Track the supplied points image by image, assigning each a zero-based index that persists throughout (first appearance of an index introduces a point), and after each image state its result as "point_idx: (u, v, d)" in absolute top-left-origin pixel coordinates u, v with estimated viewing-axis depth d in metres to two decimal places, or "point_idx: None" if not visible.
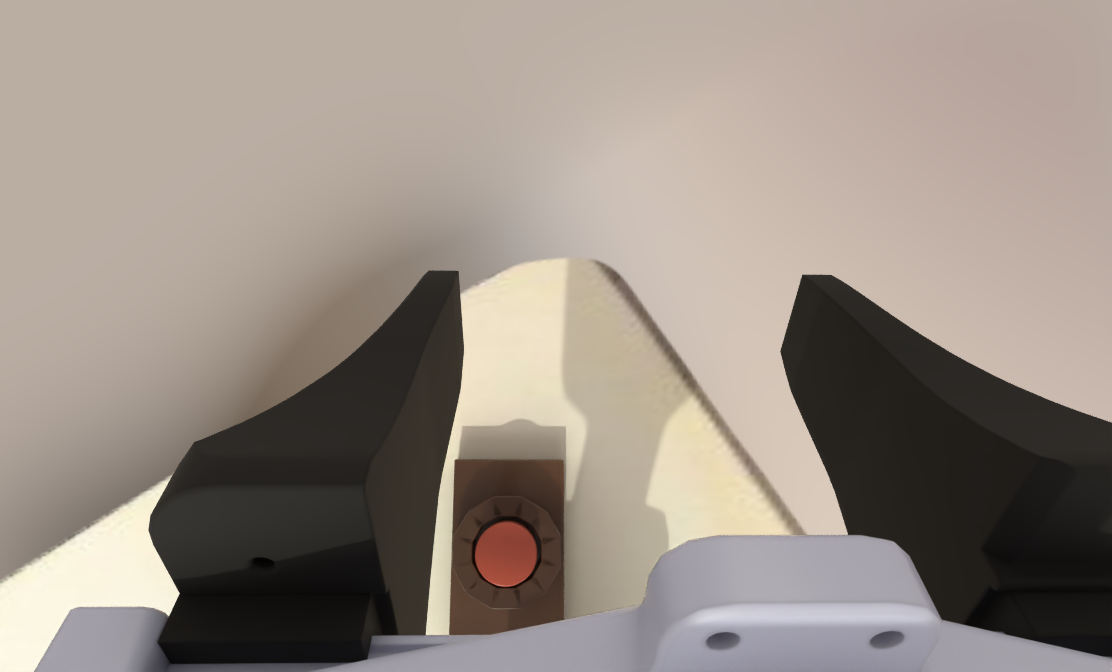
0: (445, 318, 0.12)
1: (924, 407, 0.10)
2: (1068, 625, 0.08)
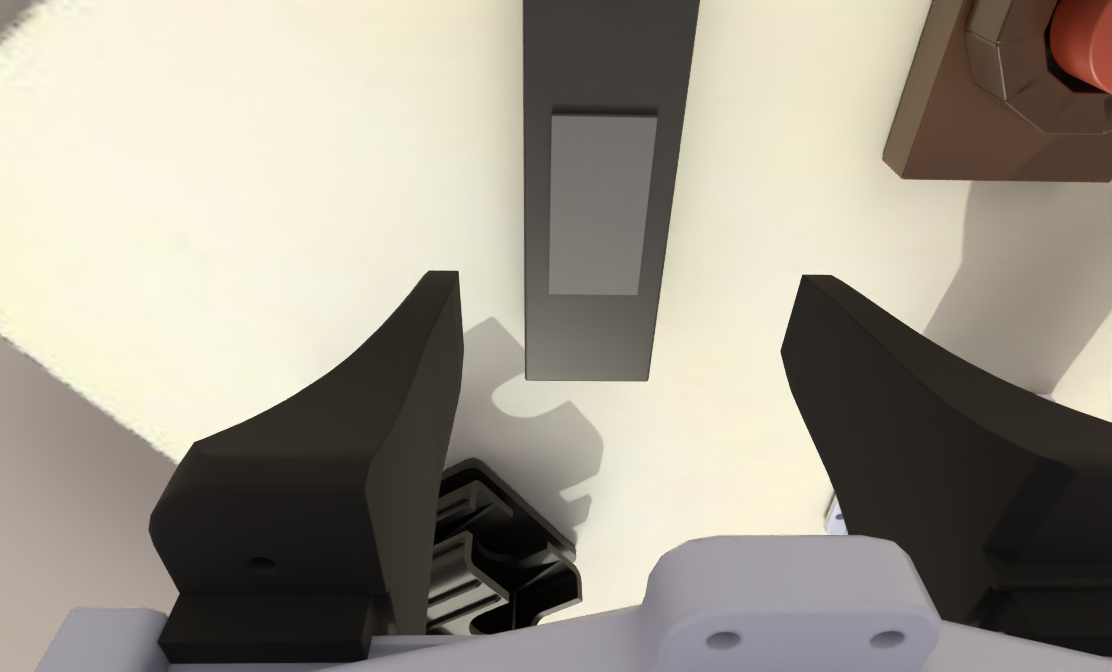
0: (445, 318, 0.12)
1: (924, 407, 0.10)
2: (1068, 625, 0.08)
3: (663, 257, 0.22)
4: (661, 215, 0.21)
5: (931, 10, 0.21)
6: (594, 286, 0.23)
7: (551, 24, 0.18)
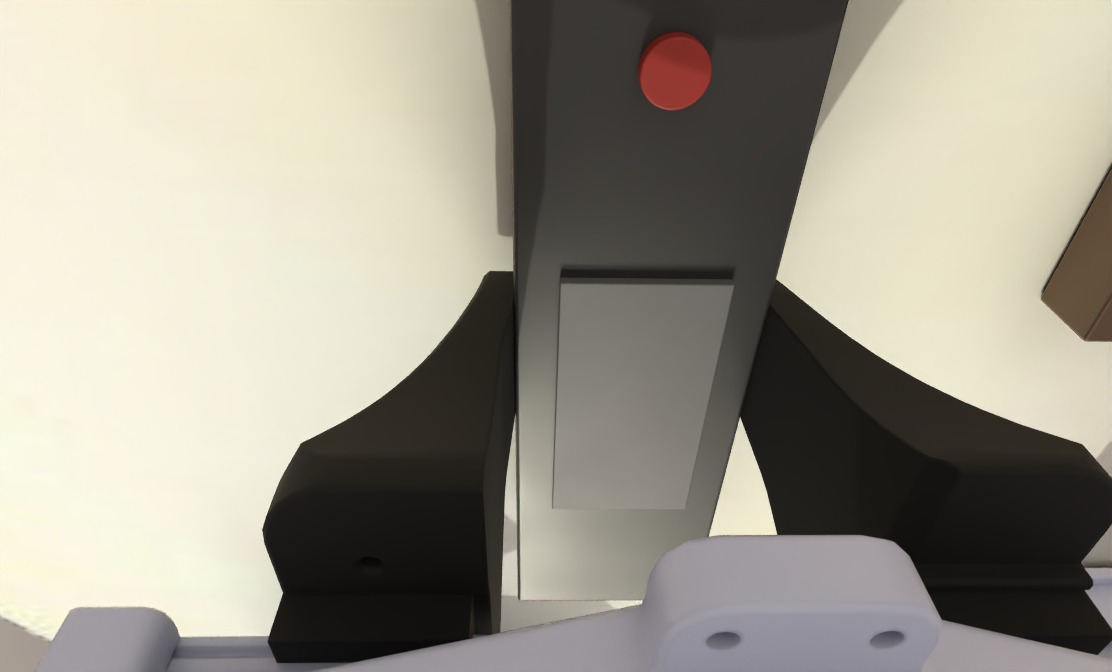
0: (512, 318, 0.12)
1: (837, 407, 0.10)
2: None
3: (726, 461, 0.15)
4: (727, 410, 0.14)
5: None
6: (621, 499, 0.15)
7: (561, 145, 0.10)
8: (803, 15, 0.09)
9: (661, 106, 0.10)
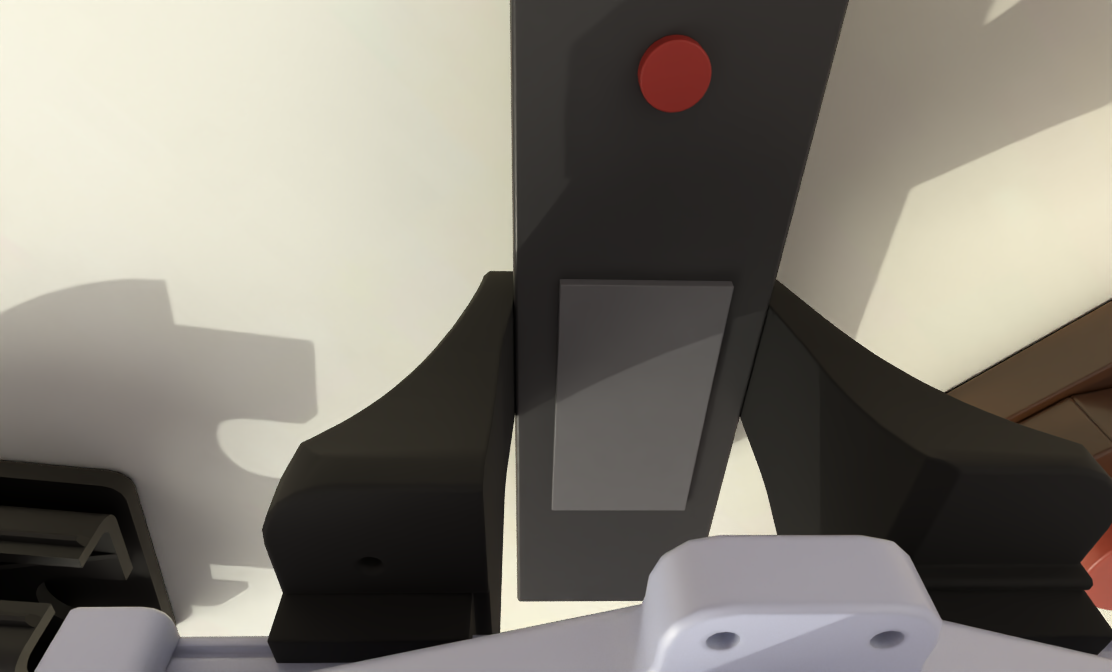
0: (512, 319, 0.12)
1: (837, 407, 0.10)
2: None
3: (725, 462, 0.15)
4: (727, 411, 0.14)
5: (973, 382, 0.19)
6: (620, 500, 0.15)
7: (561, 146, 0.10)
8: (803, 18, 0.09)
9: (661, 108, 0.10)
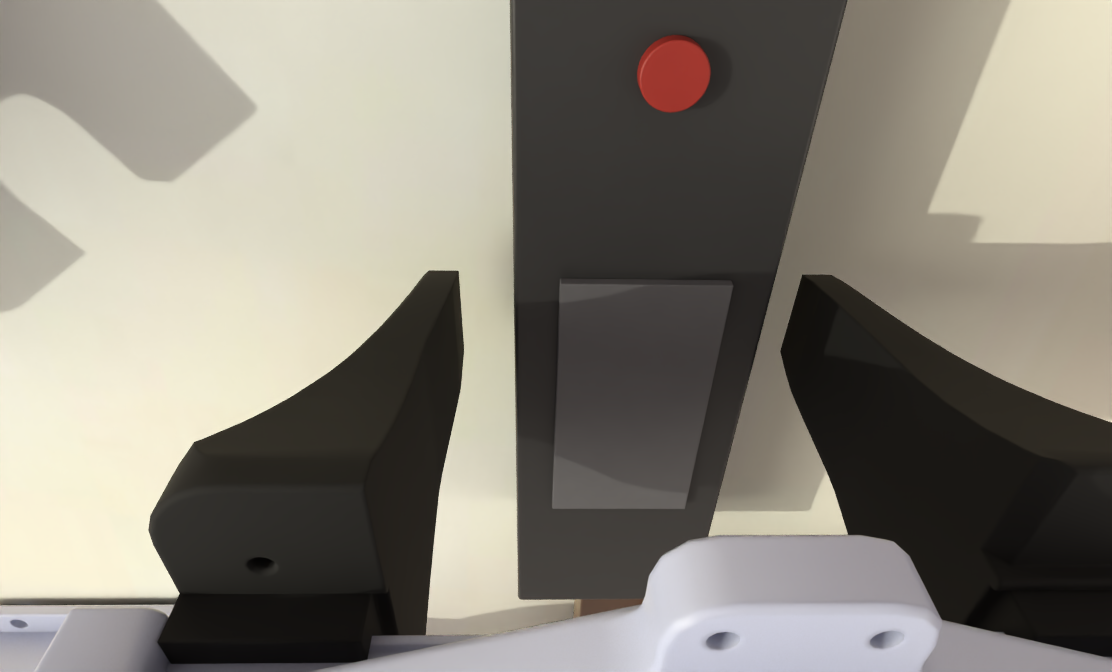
0: (445, 318, 0.12)
1: (924, 407, 0.10)
2: (1068, 625, 0.08)
3: (725, 461, 0.15)
4: (727, 410, 0.14)
5: None
6: (621, 499, 0.15)
7: (560, 147, 0.10)
8: (801, 18, 0.09)
9: (660, 108, 0.10)
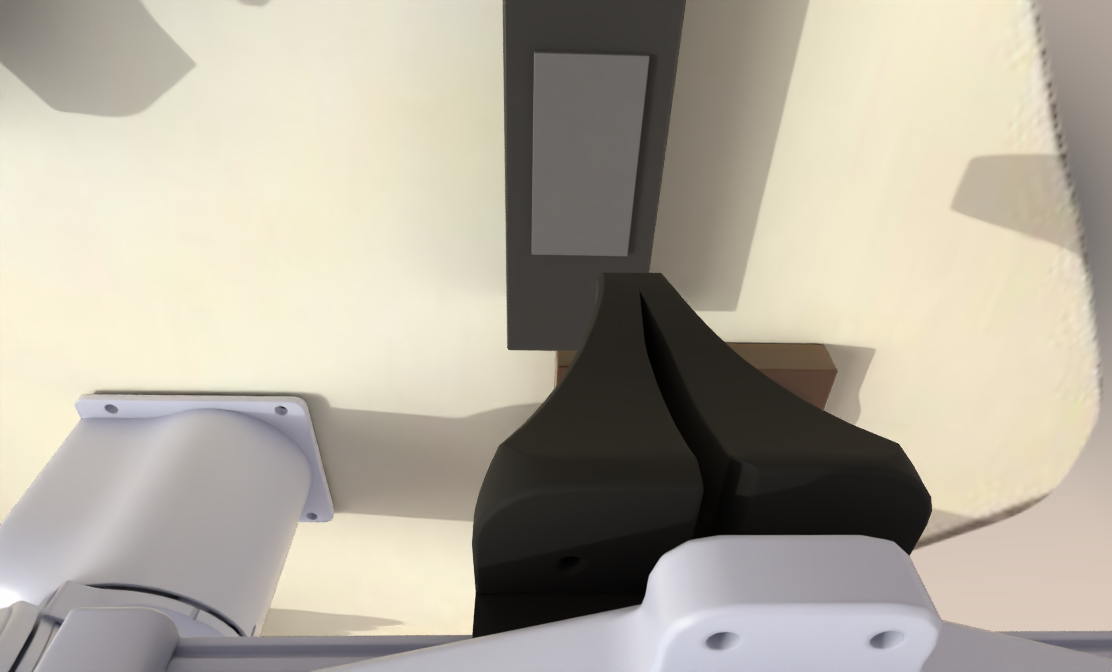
0: None
1: (684, 406, 0.10)
2: None
3: (655, 215, 0.21)
4: (653, 168, 0.20)
5: None
6: (581, 246, 0.21)
7: None
8: None
9: None
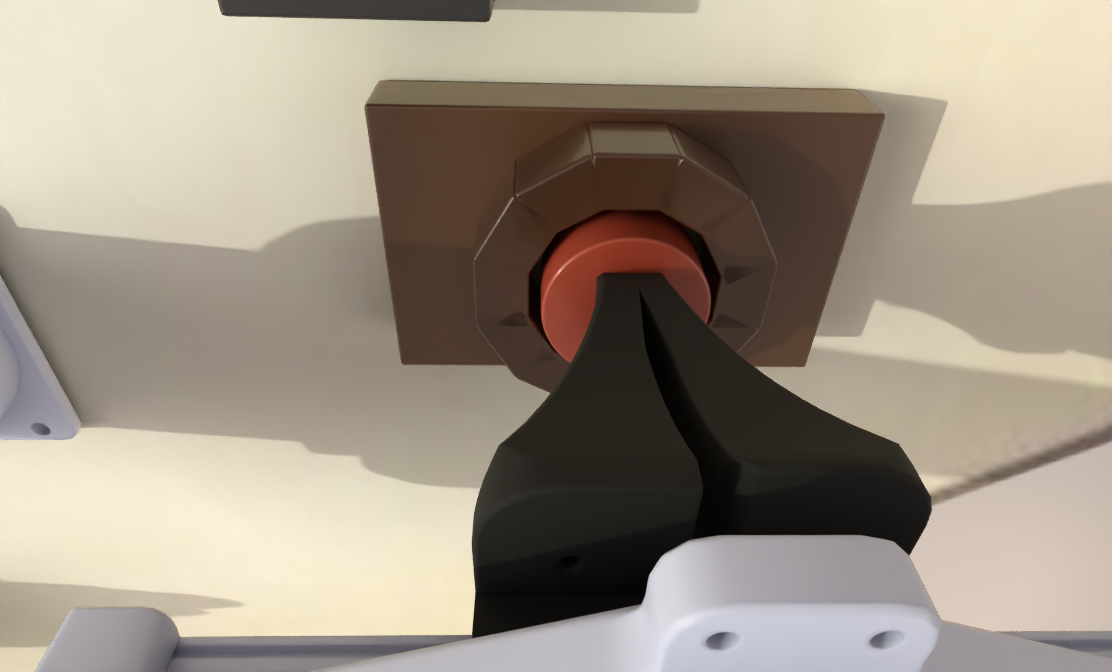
0: None
1: (685, 406, 0.10)
2: None
3: None
4: None
5: (590, 85, 0.15)
6: None
7: None
8: None
9: None
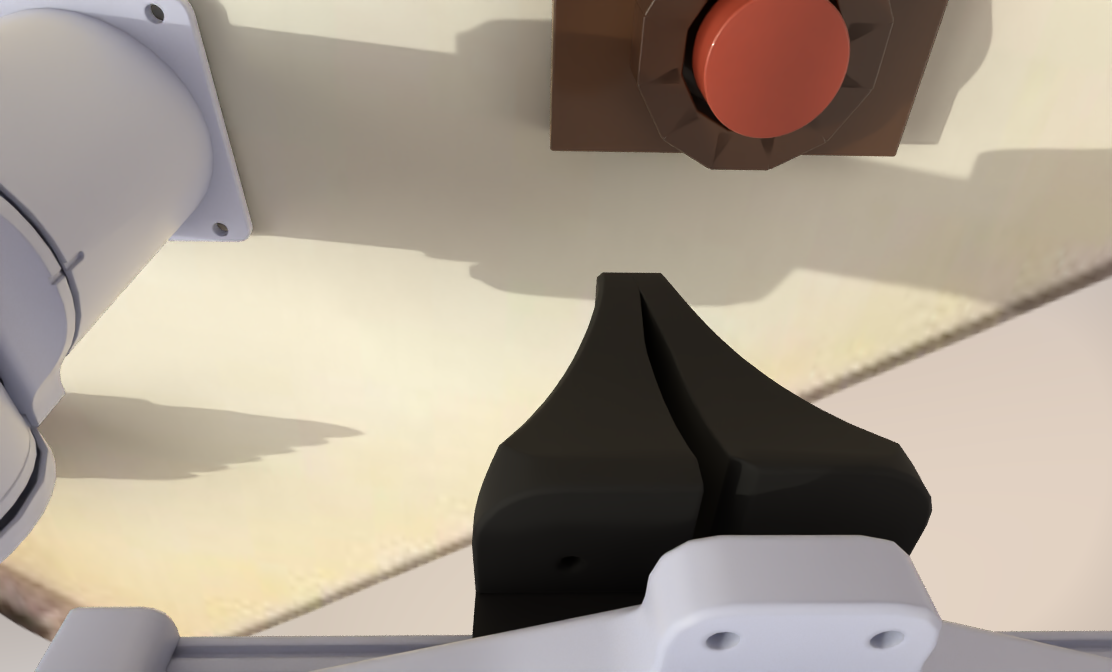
0: None
1: (684, 406, 0.10)
2: None
3: None
4: None
5: None
6: None
7: None
8: None
9: None
